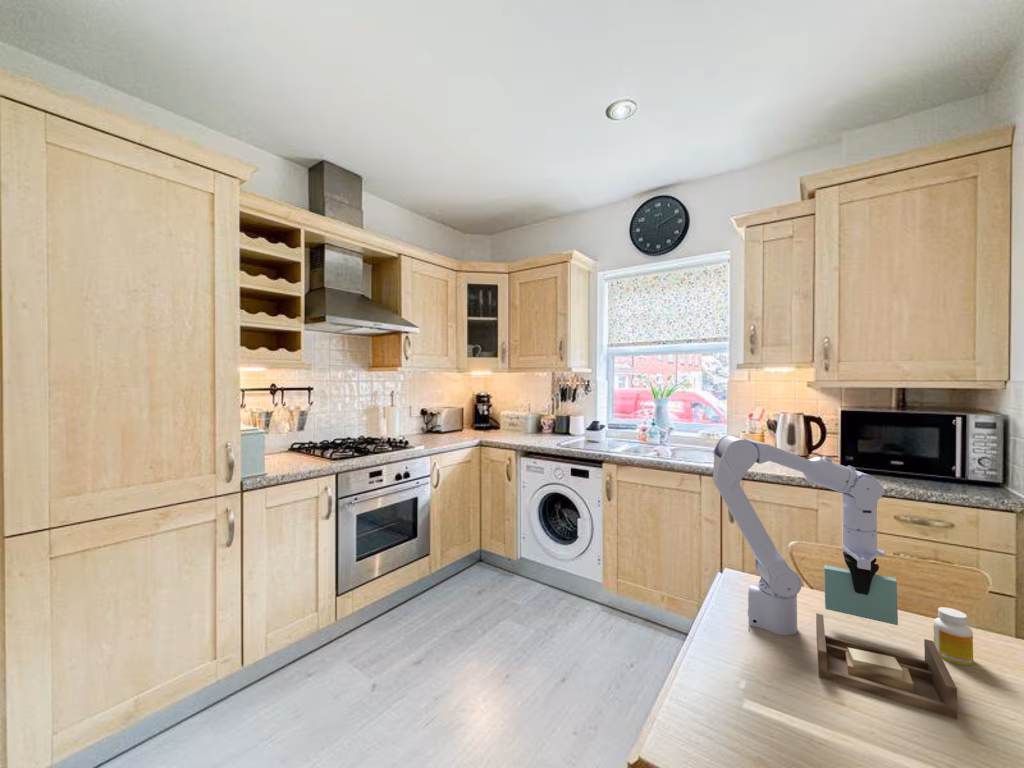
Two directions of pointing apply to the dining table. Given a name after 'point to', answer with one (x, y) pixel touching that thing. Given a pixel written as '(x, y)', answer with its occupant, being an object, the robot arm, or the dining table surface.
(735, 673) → the dining table surface
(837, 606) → the teal sheet
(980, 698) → the dining table surface
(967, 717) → the dining table surface
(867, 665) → the ash offcut
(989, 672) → the dining table surface
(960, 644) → the supplement bottle
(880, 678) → the oak offcut
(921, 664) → the walnut rack
